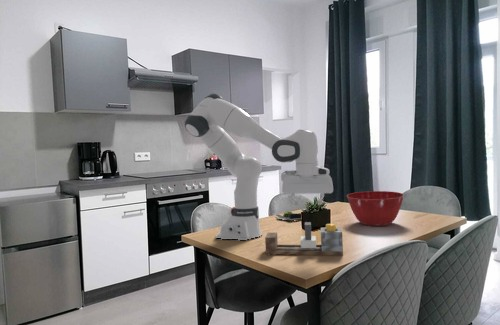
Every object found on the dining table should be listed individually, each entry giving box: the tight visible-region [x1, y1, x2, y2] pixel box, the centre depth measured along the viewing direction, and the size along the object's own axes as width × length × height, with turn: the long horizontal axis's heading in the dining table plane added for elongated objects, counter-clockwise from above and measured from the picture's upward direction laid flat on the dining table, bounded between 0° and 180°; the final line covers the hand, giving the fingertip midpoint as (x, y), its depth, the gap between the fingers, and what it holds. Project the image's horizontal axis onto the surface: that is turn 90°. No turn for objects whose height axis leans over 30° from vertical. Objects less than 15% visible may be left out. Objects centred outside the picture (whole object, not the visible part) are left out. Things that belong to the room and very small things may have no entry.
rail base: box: [264, 226, 344, 256], centre depth 144 cm, size 30×8×9 cm, turn 80°
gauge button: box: [325, 223, 337, 231], centre depth 142 cm, size 4×4×4 cm
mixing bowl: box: [346, 190, 405, 227], centre depth 188 cm, size 28×28×16 cm
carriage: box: [300, 221, 317, 248], centre depth 144 cm, size 6×7×9 cm
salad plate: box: [275, 211, 302, 222], centre depth 212 cm, size 19×18×5 cm
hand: (307, 204), depth 144 cm, fingers open, 8 cm apart
